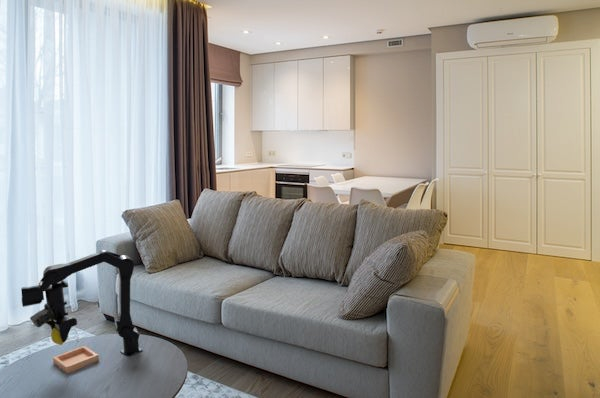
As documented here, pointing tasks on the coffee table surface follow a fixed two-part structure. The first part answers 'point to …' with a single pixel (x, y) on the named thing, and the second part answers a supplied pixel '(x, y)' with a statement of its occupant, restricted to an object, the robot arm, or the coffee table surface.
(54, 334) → the lemon
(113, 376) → the coffee table surface
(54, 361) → the dish
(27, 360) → the coffee table surface
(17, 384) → the coffee table surface
